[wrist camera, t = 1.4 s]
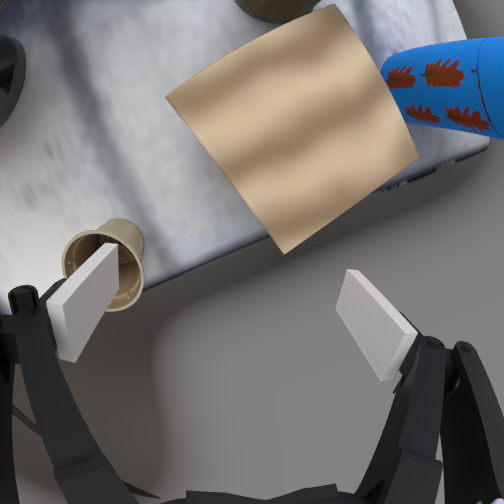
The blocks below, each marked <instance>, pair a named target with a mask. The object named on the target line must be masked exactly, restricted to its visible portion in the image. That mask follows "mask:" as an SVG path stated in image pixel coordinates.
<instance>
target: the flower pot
mask: <svg viewBox="0 0 504 504" xmlns="http://www.w3.org/2000/svg"><path fill="white" fill-rule="evenodd" d="M103 235H106V236H105V237H106V239H105V242H103ZM119 242H121V243H122V244H121V245H120V244H119ZM105 243H112V244H118V257H123V260H118V273H119V290H118V292H117V293H116V295H115V296H114V298H113V299H112V301H111V303H110V304H109V306H108V307H107V309H106V311H108V312H114V311H120V310H123V309H126V308H128V307H130V306H131V305H133V304H134V303H135V302H136V301H137V299H138V298H139V297H140V295H141V292H142V290H143V286H144V270H143V266H142V263H141V261H142V254H143V248H144V240H143V236H142V234H141V232H140V231H139V229H138V228H137V227H136V225H135V224H133V223H132V222H130V221H128V220H125V219H113V220H111V221H108V222H107V223H105V224H104V225H102V226H101V227H99V228H97V229H96V230H89V231H85V232H82V233H79V234H78V235H76V236H75V237H73V238H72V239H71V240H70V241H69V243H68V244H67V246H66V247H65V250H64V252H63V256H62V270H63V275H64V278H66V279H68V278H69V277H70V276H71V275H72V274H73V273H74V272H75V271H76V270H77V269H78V268H79V267H80V266H81V265H83V264H84V263H85V262H86V261H87V260H88V259H89V258H90V257H91V256H92V255H93V254H94V253H95V252H96V251H97V250H98V249H99V248H100V247H102V246H103V245H104V244H105Z"/></svg>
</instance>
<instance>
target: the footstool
mask: <svg viewBox="0 0 504 504" xmlns="http://www.w3.org/2000/svg"><path fill="white" fill-rule="evenodd" d="M165 98H166V99H167V101H168V102H169V103H170V104H171V106H172V107H173V108H174V109H175V111H176V112H177V113H178V114H179V116H180V117H181V118H182V120H183V121H184V122H185V123H186V125H187V126H188V127H189V129H190V130H191V131H192V132H193V134H194V135H195V136H196V138H197V139H198V140H199V141H200V143H201V144H202V145H203V147H204V148H205V149H206V150H207V152H208V153H209V154H210V156H211V157H212V158H213V160H214V161H215V162H216V163H217V165H218V166H219V167H220V169H221V170H222V171H223V173H224V174H225V175H226V177H227V178H228V179H229V181H230V182H231V183H232V185H233V186H234V187H235V189H236V190H237V191H238V193H239V194H240V195H241V197H242V198H243V199H244V201H245V202H246V203H247V205H248V206H249V207H250V209H251V210H252V211H253V213H254V214H255V215H256V217H257V218H258V219H259V221H260V222H261V223H262V225H263V226H264V228H265V229H266V230H267V232H268V233H269V234H270V236H271V237H272V238H273V240H274V241H275V243H276V244H277V245H278V247H279V248H280V249H281V251H282V252H283V253H284V254H286V253H287V252H288V251H290V250H291V249H293V248H294V247H296V246H297V245H298V244H300V243H301V242H303V241H304V240H306V239H307V238H308V237H310V236H311V235H313V234H314V233H315V232H317V231H318V230H320V229H321V228H322V227H324V226H325V225H327V224H328V223H330V222H331V221H332V220H334V219H335V218H337V217H338V216H339V215H340V214H342V213H343V212H345V211H346V210H348V209H349V208H350V207H352V206H353V205H355V204H356V203H357V202H359V201H360V200H362V199H363V198H364V197H366V196H367V195H368V194H370V193H371V192H373V191H374V190H375V189H377V188H378V187H379V186H381V185H382V184H384V183H385V182H386V181H388V180H389V179H390V178H392V177H393V176H394V175H396V174H397V173H399V172H400V171H401V170H403V169H404V168H405V167H407V166H408V165H409V164H411V163H412V162H413V161H415V160H416V159H417V158H419V155H418V153H417V150H416V148H415V145H414V143H413V140H412V138H411V135H410V133H409V131H408V128H407V126H406V124H405V122H404V119H403V117H402V115H401V113H400V111H399V109H398V106H397V104H396V102H395V100H394V98H393V96H392V94H391V92H390V90H389V89H388V87H387V85H386V83H385V81H384V79H383V77H382V76H381V74H380V72H379V70H378V68H377V67H376V65H375V63H374V62H373V60H372V58H371V56H370V55H369V53H368V52H367V50H366V48H365V47H364V45H363V44H362V42H361V41H360V39H359V37H358V36H357V34H356V33H355V31H354V30H353V29H352V27H351V26H350V24H349V23H348V21H347V20H346V19H345V17H344V16H343V14H342V13H341V12H340V10H339V9H338V8H337V6H336V5H335V4H332V5H330V6H327V7H324V8H322V9H319V10H316V11H314V12H312V13H309V14H307V15H304V16H302V17H300V18H297V19H295V20H293V21H291V22H288V23H286V24H284V25H282V26H280V27H278V28H276V29H274V30H272V31H270V32H268V33H266V34H264V35H262V36H260V37H258V38H256V39H254V40H252V41H250V42H249V43H247V44H245V45H243V46H241V47H240V48H238V49H236V50H234V51H233V52H231V53H229V54H228V55H226V56H224V57H223V58H221V59H219V60H218V61H216V62H215V63H213V64H212V65H210V66H208V67H207V68H205V69H204V70H202V71H201V72H199V73H198V74H196V75H195V76H193V77H192V78H190V79H189V80H188V81H186V82H185V83H183V84H182V85H181V86H179V87H178V88H176V89H175V90H174V91H172V92H171V93H170V94H168V95H167V96H166V97H165Z"/></svg>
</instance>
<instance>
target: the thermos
mask: <svg viewBox="0 0 504 504" xmlns="http://www.w3.org/2000/svg"><path fill="white" fill-rule="evenodd" d="M381 76H382V77H383V79H384V81H385V83H386V85H387V87H388V89H389V90H390V92H391V94H392V96H393V98H394V100H395V102H396V104H397V106H398V109H399V111H400V113H401V115H402V117H403V119H404V120H405V121H408V122H411V123H417V124H422V125H426V126H432V127H440V128H446V129H452V130H458V131H464V132H469V133H474V134H479V135H484V136H489V137H493V138H498V139H502V140H504V37H492V38H480V39H469V40H461V41H453V42H447V43H440V44H434V45H429V46H424V47H419V48H414V49H410V50H407V51H404V52H401V53H398V54H395V55H393V56H391V57H389V58H388V59H387V60H386V62H385V63H384V64H383V66H382V70H381Z"/></svg>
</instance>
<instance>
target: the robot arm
mask: <svg viewBox="0 0 504 504" xmlns="http://www.w3.org/2000/svg"><path fill="white" fill-rule="evenodd" d="M10 1H11V0H0V12H1V11H2V10H3V9H4V7H5V6H6V5H7V4H8V3H9V2H10ZM25 68H26V61H25V53H24V50H23V47H22V45H21V44H20V42H19V41H18V40H16V39H15V38H12V37H9V36H6V35H0V127H1V126H2V125H3V124H4V123H5V121H6V120H7V119H8V117H9V116H10V114H11V112H12V111H13V109H14V107H15V105H16V103H17V100H18V98H19V95H20V92H21V89H22V86H23V82H24V77H25ZM118 290H119V273H118V244H112V243H105V244H104V245H103V246H102V247H100V248H99V249H98V250H97V251H96V252H95V253H94V254H93V255H92V256H91V257H90V258H89V259H88V260H87V261H86V262H85V263H84V264H83V265H81V266H80V267H79V268H78V269H77V270H76V271H75V272H74V273H73V274H72V275H71V276H70V277H69V278H68V279H66V278H63V279H61V280H59V281H57V282H55V283H54V284H53V285H52V286H51V287H50V288H49V289H48V290H47V291H46V293H44V294H43V295H42V296H41V297H40V298H39V296H38V291H37V289H36V288H35V287H33V286H30V285H22V286H18V287H16V288H14V289H12V290H11V291H10V292H9V294H8V299H9V303H10V307H11V311H12V315H1V314H0V504H20V503H19V498H18V491H17V485H16V478H15V469H14V459H13V445H12V397H13V382H14V371H15V363H16V364H20V365H21V369H22V374H23V378H24V382H25V386H26V390H27V393H28V397H29V400H30V404H31V407H32V411H33V414H34V417H35V420H36V423H37V426H38V429H39V432H40V434H41V437H42V440H43V442H44V445H45V447H46V450H47V452H48V455H49V457H50V459H51V462H52V464H53V466H54V470H53V473H54V476H55V479H56V481H57V483H58V485H59V487H60V489H61V491H62V493H63V494H64V497H65V498H66V500H67V502H68V504H139V503H138V502H137V501H136V499H135V498H134V497H133V495H132V494H131V493H130V491H129V490H128V489H127V487H126V486H125V484H124V483H123V482H122V480H121V479H120V477H119V476H118V474H117V473H116V471H115V470H114V468H113V467H112V465H111V464H110V463H109V461H108V459H107V458H106V456H105V455H104V454H103V453H102V451H101V450H100V448H99V447H98V445H97V443H96V441H95V440H94V438H93V436H92V434H91V433H90V431H89V429H88V427H87V425H86V423H85V421H84V419H83V417H82V415H81V413H80V411H79V409H78V407H77V405H76V403H75V401H74V399H73V397H72V394H71V392H70V390H69V387H68V385H67V383H66V380H65V378H64V375H63V373H62V370H61V368H60V365H59V363H58V360H57V357H56V355H55V350H56V349H57V350H58V353H59V357H60V359H63V360H66V361H70V362H74V363H75V362H76V360H77V359H78V357H79V355H80V353H81V352H82V350H83V348H84V346H85V344H86V343H87V341H88V339H89V338H90V336H91V334H92V332H93V331H94V329H95V327H96V326H97V324H98V322H99V321H100V319H101V317H102V316H103V314H104V312H105V311H106V309H107V307H108V306H109V304H110V303H111V301H112V299H113V298H114V296H115V295H116V293H117V292H118ZM335 310H336V311H337V313H338V314H339V316H340V317H341V319H342V321H343V322H344V324H345V325H346V327H347V328H348V330H349V332H350V333H351V335H352V336H353V338H354V340H355V341H356V343H357V344H358V346H359V348H360V349H361V351H362V352H363V354H364V355H365V357H366V359H367V360H368V362H369V364H370V365H371V367H372V368H373V370H374V372H375V373H376V375H377V377H378V378H379V380H380V382H384V381H392V380H394V378H395V376H396V375H397V373H398V371H400V372H401V374H402V375H403V376H402V377H401V379H400V381H399V383H398V384H397V386H396V388H395V390H394V391H393V393H395V392H396V394H395V397H394V400H393V404H392V406H391V410H390V412H389V416H388V418H387V421H386V424H385V427H384V429H383V432H382V435H381V437H380V440H379V443H378V445H377V448H376V450H375V453H374V455H373V458H372V460H371V462H370V464H369V467H368V469H367V471H366V473H365V475H364V477H363V480H362V482H361V484H360V486H359V487H358V489H357V491H356V492H355V493H354V494H351V493H347V492H340V491H338V490H337V487H336V484H330V485H325V486H319V487H312V488H304V489H300V490H297V491H294V492H292V493H289V494H286V495H282V496H279V497H276V498H272V499H269V500H261V499H255V498H249V497H244V496H239V495H234V494H229V493H219V492H200V491H188V490H187V491H186V498H182V499H176V500H171V501H167V502H164V503H161V504H435V500H436V496H437V492H438V487H439V483H440V479H441V474H442V468H443V470H444V493H445V504H504V417H503V414H502V411H501V409H500V406H499V403H498V400H497V398H496V395H495V393H494V390H493V388H492V385H491V383H490V380H489V378H488V376H487V373H486V371H485V369H484V366H483V364H482V362H481V360H480V358H479V356H478V354H477V352H476V350H475V348H474V347H473V346H472V345H471V344H469V343H468V342H464V341H459V342H457V343H456V345H455V346H454V348H453V349H446V348H445V346H444V344H443V343H442V342H441V341H440V340H438V339H437V338H435V337H431V336H423V335H422V334H421V333H420V332H419V330H417V328H416V327H415V326H414V325H412V323H411V322H410V321H409V320H408V319H407V318H406V317H405V316H404V314H402V313H401V312H399V311H398V310H396V308H394V306H393V305H392V304H391V303H390V302H389V301H388V300H387V299H386V298H385V297H384V296H383V295H382V294H381V293H380V292H379V291H378V290H377V289H376V288H375V287H374V286H373V285H372V284H371V283H370V282H369V281H368V280H367V279H366V278H365V277H364V276H363V275H362V274H361V273H360V272H359V271H358V270H350V269H347V272H346V275H345V279H344V282H343V286H342V289H341V293H340V296H339V299H338V302H337V306H336V309H335ZM439 433H440V437H441V445H442V456H443V463H442V462H441V461H439V460H436V459H435V457H436V451H437V445H438V439H439Z"/></svg>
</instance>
